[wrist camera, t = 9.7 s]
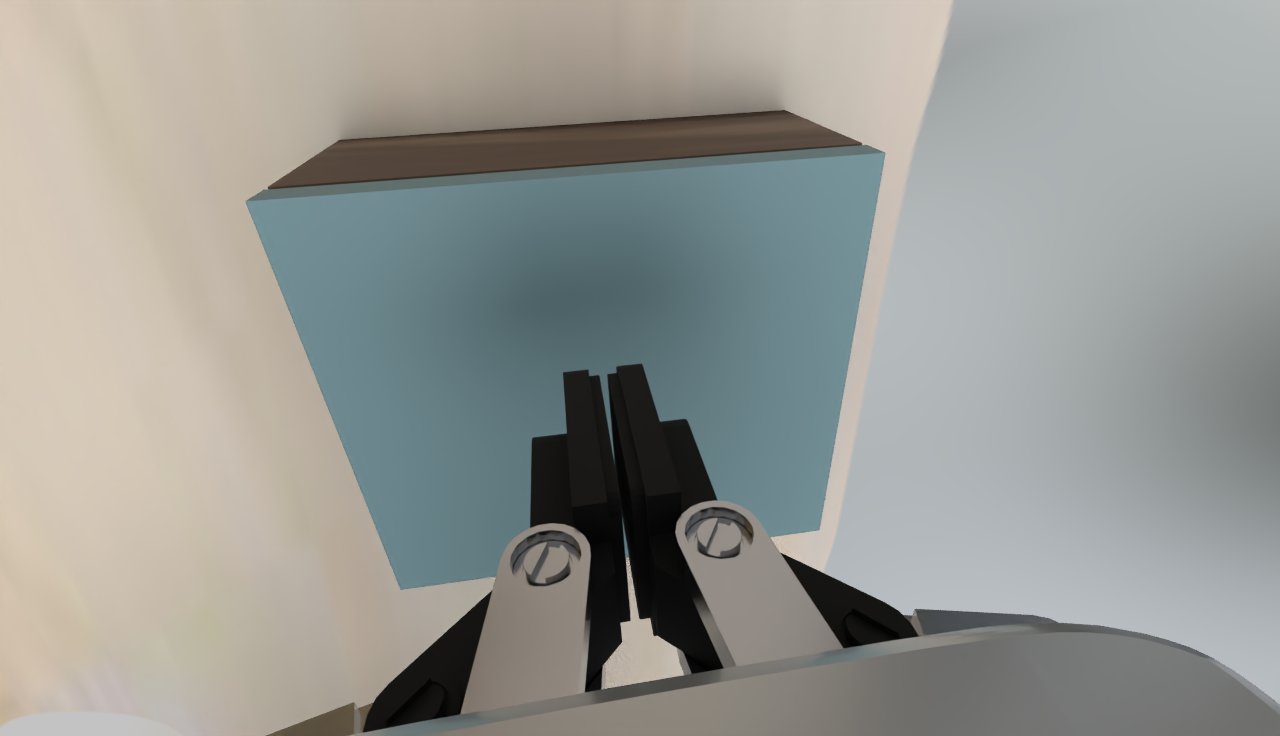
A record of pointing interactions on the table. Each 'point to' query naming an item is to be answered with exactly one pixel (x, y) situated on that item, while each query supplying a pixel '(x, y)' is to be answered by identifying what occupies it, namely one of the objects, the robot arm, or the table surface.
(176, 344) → the table surface
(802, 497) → the lid
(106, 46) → the table surface
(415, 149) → the storage box
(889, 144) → the table surface
